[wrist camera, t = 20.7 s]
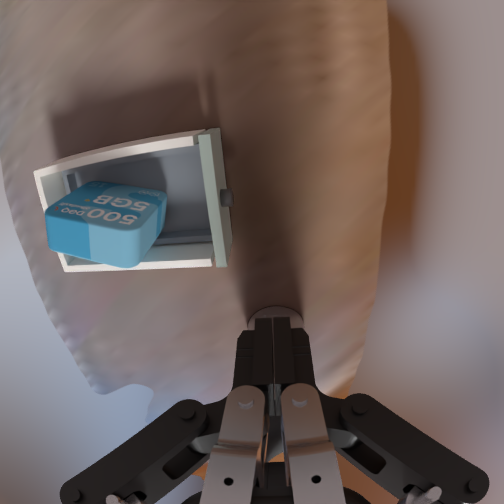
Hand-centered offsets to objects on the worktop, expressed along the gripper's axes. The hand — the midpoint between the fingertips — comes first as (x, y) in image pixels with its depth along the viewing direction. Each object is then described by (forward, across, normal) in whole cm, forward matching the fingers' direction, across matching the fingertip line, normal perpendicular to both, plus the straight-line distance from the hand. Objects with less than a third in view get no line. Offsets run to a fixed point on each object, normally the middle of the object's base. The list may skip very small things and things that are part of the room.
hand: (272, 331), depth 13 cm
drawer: (+27, +16, +1) cm, 31 cm away
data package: (+26, +19, +1) cm, 32 cm away
